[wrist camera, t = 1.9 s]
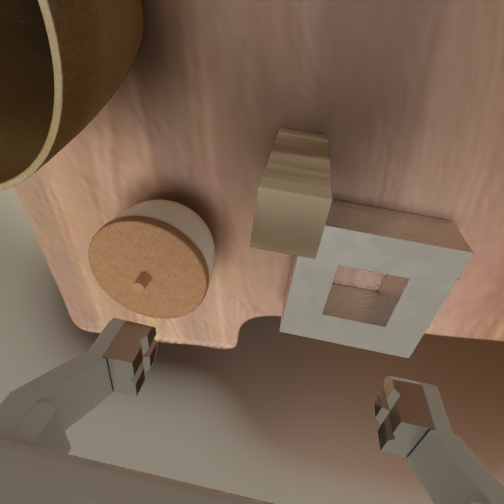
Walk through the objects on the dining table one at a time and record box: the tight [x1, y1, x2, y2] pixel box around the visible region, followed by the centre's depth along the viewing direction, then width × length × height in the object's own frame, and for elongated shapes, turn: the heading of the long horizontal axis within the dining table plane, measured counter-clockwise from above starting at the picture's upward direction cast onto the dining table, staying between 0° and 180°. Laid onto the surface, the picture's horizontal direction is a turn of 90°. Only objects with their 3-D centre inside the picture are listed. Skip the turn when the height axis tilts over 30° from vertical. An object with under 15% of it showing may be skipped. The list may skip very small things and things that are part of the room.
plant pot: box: [0, 0, 144, 190], centre depth 19 cm, size 15×15×16 cm
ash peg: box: [250, 128, 332, 259], centre depth 24 cm, size 4×4×12 cm
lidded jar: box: [88, 199, 215, 319], centre depth 32 cm, size 11×11×9 cm
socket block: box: [280, 200, 474, 358], centre depth 32 cm, size 13×13×5 cm
